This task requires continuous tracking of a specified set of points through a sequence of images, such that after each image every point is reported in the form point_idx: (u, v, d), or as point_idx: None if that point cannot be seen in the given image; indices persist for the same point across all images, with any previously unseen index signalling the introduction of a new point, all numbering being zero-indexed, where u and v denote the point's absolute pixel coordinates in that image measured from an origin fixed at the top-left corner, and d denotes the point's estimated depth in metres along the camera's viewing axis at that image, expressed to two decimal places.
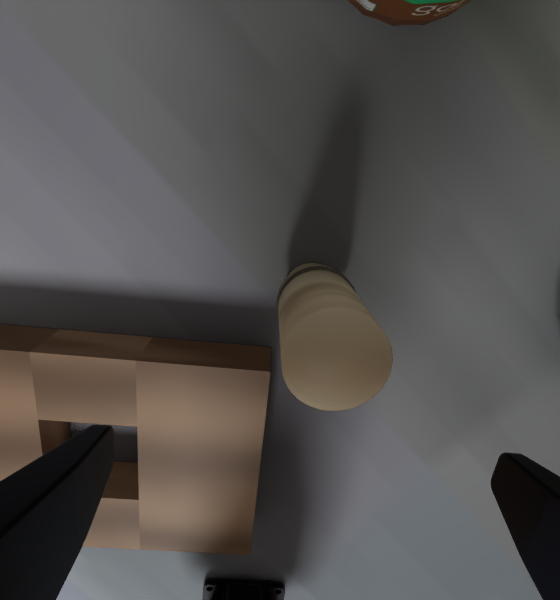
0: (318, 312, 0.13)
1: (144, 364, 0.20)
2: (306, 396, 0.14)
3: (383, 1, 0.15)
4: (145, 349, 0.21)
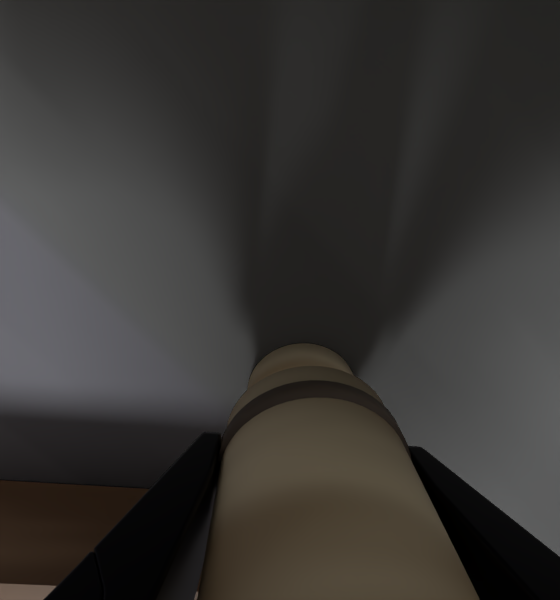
0: None
1: None
2: None
3: None
4: None
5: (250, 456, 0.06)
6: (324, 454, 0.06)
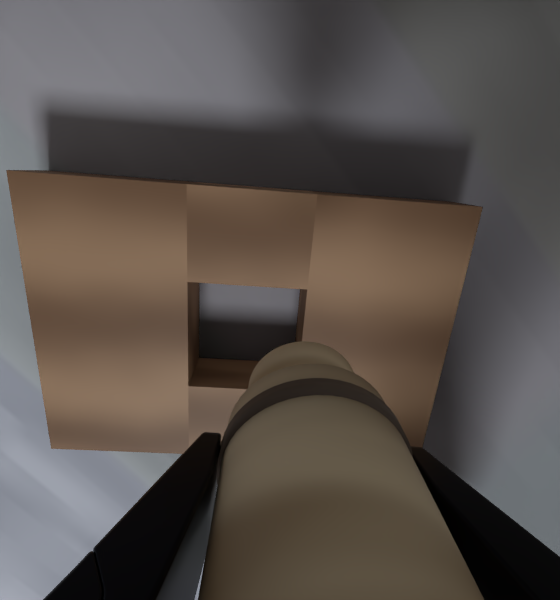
0: None
1: (327, 199, 0.16)
2: None
3: None
4: (315, 192, 0.17)
5: (251, 454, 0.06)
6: (326, 451, 0.06)
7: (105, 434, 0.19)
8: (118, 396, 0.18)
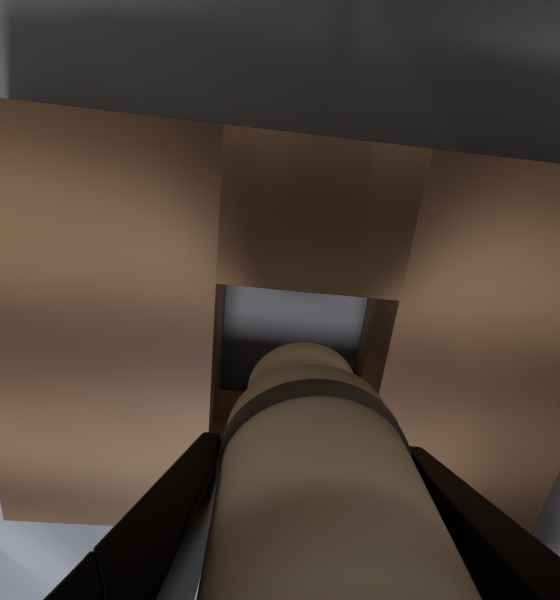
0: None
1: (448, 157, 0.10)
2: None
3: None
4: None
5: (250, 455, 0.06)
6: (325, 452, 0.06)
7: (83, 502, 0.13)
8: (103, 450, 0.12)
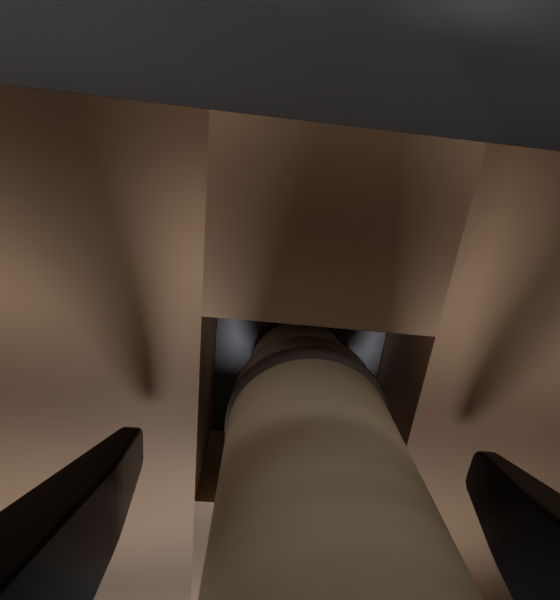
0: None
1: (506, 154, 0.07)
2: None
3: None
4: None
5: (254, 402, 0.08)
6: (314, 396, 0.07)
7: None
8: None
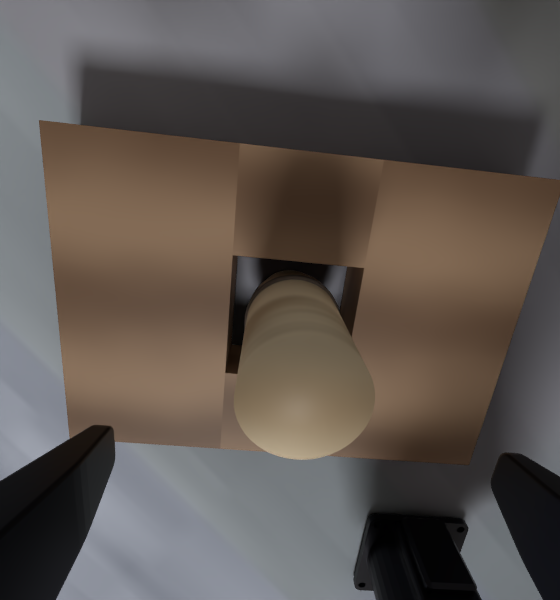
0: (280, 338, 0.10)
1: (395, 166, 0.14)
2: (267, 442, 0.11)
3: None
4: None
5: (262, 298, 0.14)
6: (293, 290, 0.14)
7: (130, 424, 0.17)
8: (147, 382, 0.17)
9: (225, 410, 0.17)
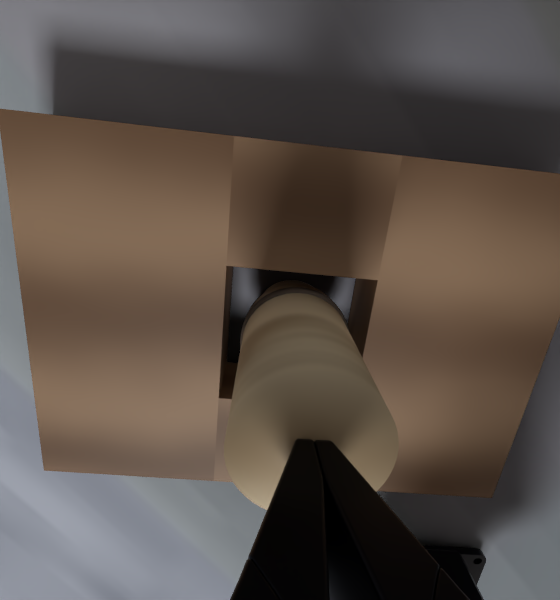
0: (280, 373, 0.08)
1: (415, 162, 0.12)
2: (265, 498, 0.09)
3: None
4: None
5: (260, 315, 0.12)
6: (297, 307, 0.12)
7: (112, 454, 0.15)
8: (130, 408, 0.15)
9: (219, 439, 0.15)
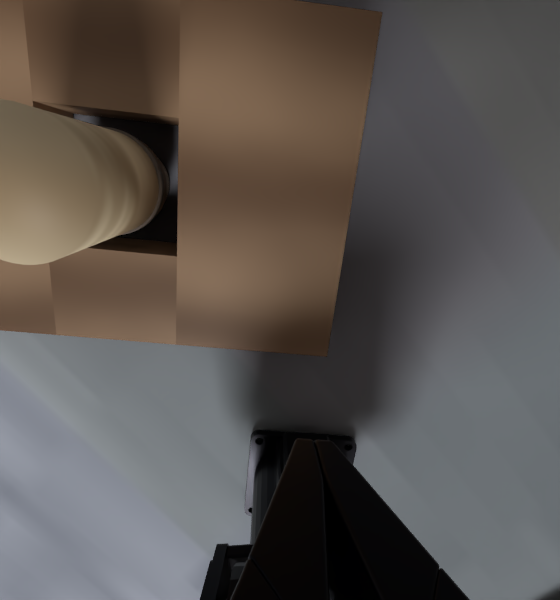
0: None
1: None
2: None
3: None
4: None
5: None
6: None
7: None
8: None
9: (54, 289, 0.16)
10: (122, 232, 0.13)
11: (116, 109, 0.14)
